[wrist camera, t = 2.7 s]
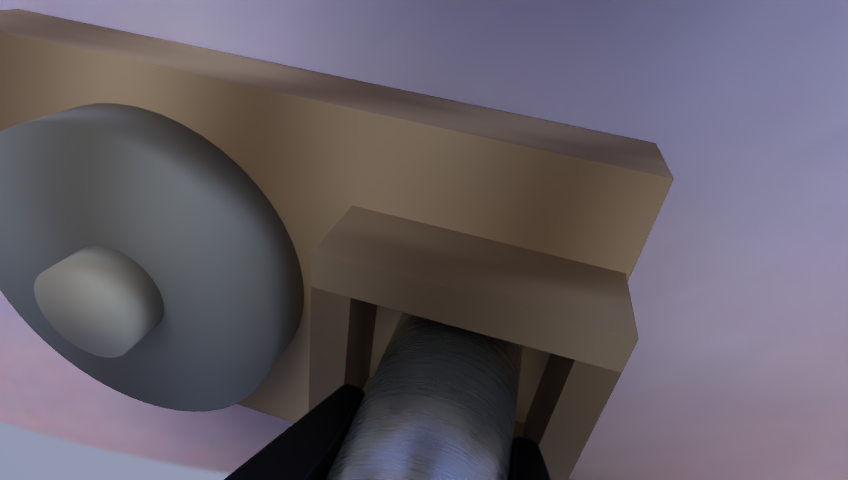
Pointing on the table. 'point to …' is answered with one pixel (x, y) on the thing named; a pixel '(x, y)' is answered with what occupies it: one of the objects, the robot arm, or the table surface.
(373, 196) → the block
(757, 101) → the table surface
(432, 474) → the pin
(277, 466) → the robot arm
